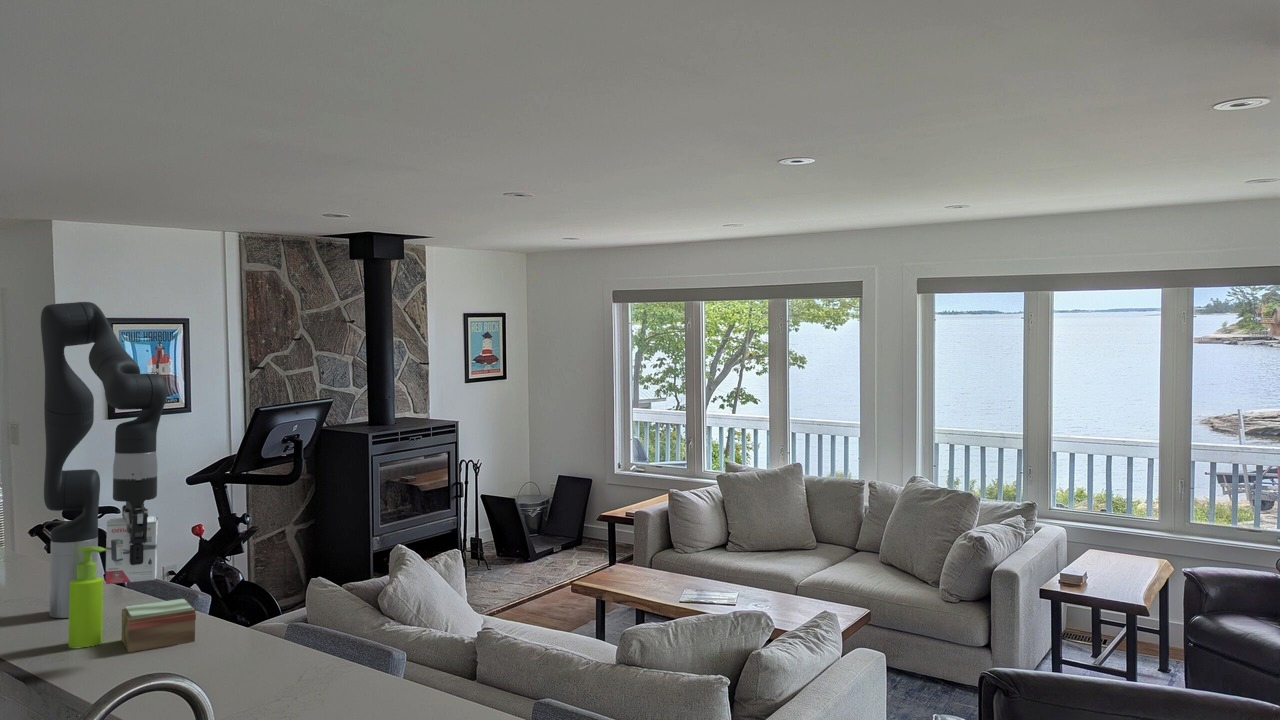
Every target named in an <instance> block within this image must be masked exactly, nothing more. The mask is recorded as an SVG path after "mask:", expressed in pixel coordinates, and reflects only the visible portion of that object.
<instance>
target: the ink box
mask: <svg viewBox="0 0 1280 720" xmlns="http://www.w3.org/2000/svg"><path fill="white" fill-rule="evenodd" d="M158 523H159V521H158V517H157V516H153V515H152V516H151V515H150V516H148V517H147V537H146V538H147V541H146V543H145V544H143V563H142V564H138V565H131V564H130V544H129V534H127V533H126V521H125V520H124V519H123V517H118V518H109V519H108V520H107V521H106V539H105V540H106V543H105V544H106V546H105V549H106V551H105V584H106V585H110V584H111V585H112V584H124V583H134V582H146V581H147V582H148V581H154V580H156V579H157V570H158V567H157V566H158V530H159V529H158V526H159V525H158ZM130 528H131V529H132V524H131V523H130ZM135 537H141V533H135Z"/></svg>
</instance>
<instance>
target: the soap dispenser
mask: <svg viewBox="0 0 1280 720" xmlns="http://www.w3.org/2000/svg"><path fill="white" fill-rule="evenodd" d="M78 551H82V562H80V563H79V564H77V579H75V580H72V581H70V586H69V618H68V644H67V645H69V646H70V647H88V648H90V647H89V646H92V647H94V646H93V645H96V646H98V645H97V644H99V643H101V642H102V643H103V632H104V631H103V627H104V625H103V623H104V622H103V620H104V618H103V617H104V616H103V615H104V578H103V577H99V576H97V577H96V565H97V563H96V562H94V561H92V551H94V552H97V553H98V554H99V553H103V552H106V547H105V548H104V547H102V546H99V545H98V546H87V547H81V548H78ZM102 643H101V644H102ZM99 645H100V644H99ZM69 646H68V647H69ZM70 647H69V648H70Z"/></svg>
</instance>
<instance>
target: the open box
mask: <svg viewBox="0 0 1280 720" xmlns="http://www.w3.org/2000/svg"><path fill="white" fill-rule="evenodd" d="M196 617H197V614H196V609H195V608H194V607H193V606H192V605H191V604H190V603H189V602H188V601H187V599H185V598H177V599H170V600H165V601H155V602H149V603H143V604H133V605H129V606H125V607H124V608H122V609H121V641H122V643H124V644H123V645H124V647H125V648H126V651H127V652H128V653H131V652H133V653H134V652H140V651H144V650H151V649H152V650H153V649H156V648H162V647H168V646H175V645H179V644H180V645H182V644H187V643H191V642H192V643H193V642H195V641H196V620H197V618H196Z"/></svg>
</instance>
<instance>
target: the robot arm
mask: <svg viewBox="0 0 1280 720" xmlns="http://www.w3.org/2000/svg"><path fill="white" fill-rule="evenodd" d="M40 313H41V315H40V333H41V335H40V336H41V342H42V353H43V362H44V363H43V365H44V403H43V404H44V408H43V409H44V411H43V412H44V414H43V415H44V416H43V417H44V431H45V432H44V433H45V467H44V482H43V483H44V484H43V501H44V504H45V507H46V509H48V510H50V511H53V512H54V511H55V512H56V511H57V512H60V511H73V510H74V511H75V510H76V511H77V510H81V511H82V513H81V514H80V515H78V516H77V517H75V518H73V519H72V520H70V521H68V522H66V523H62V524H60V525H59V524H58V525H56V526H55V527H53V528H52V529H51V530H50V531H51V532H50V560H49V561H50V563H49V564H50V568H49V569H50V572H49V613H48V614H49V617H50V618H56V619H66V618H67V619H69V586H70V581H72V580H75V579H77V564H79V563H80V562H82V551H78V548H81V547H87V546H98V547H99V545H98V544H99V505H100V493H101V492H100V491H101V477H100V474H99V472H98V471H97V470H96V469H93V468H91V469H71V470H70V469H69V470H67V469H66V470H63V468H64V465H65V462H66V461H67V459H68V457H69V456H70V454H71V453H72V451H74V449H75V448H76V447H77V446H78V445H79V444H80V442H81V441H82V440H83V439H84V438H85V437H86V436H87V435H88V433H89V432H90V430H91V428H92V427H93V425H94V421H95V420H94V418H95V416H94V411H95V410H94V409H95V408H94V407H95V405H94V404H95V400H94V395H93V393H92V391H91V390H90V388H89V386H88V385H87V384H86V383H85V382H84V381H83V379H81V378H80V377H79V376H78V375H77V374H76V373H75V371H74V370H73V369H72V367H71V366H70V365H69V363H68V361H67V359H66V355H65V348H66V347H72V346H82V345H89V344H92V343H93V345H92V346H91V349H90V350H89V353H88V363H89V366H90V369H91V370H92V372H93V373H94V374H95V375H96V376H97V377H98V379H99V380H100V381H101V382H102V386H103V389H104V395H105V401H106V402H107V405H109V406H110V407H112V408H114V409H117V410H123V411H124V410H125V411H126V410H140V413H139V415H138V416H137V417H136V418H135V419H133V420H130V421H125V422H120V423H118V425H117V426H116V428H115V434H114V436H115V437H114V439H115V440H114V459H113V464H112V465H113V466H112V467H113V468H112V471H113V472H112V474H113V475H112V499H113V500H114V501H116V502H125V504H124V505H122V508H121V518H123V519H124V520H125V521H126V533H127V534H129V544H130V564H131V565H138V564H142V563H143V544H145V543H146V541H147V538H146V537H147V517H149V514H148V513H149V512H148V511H149V509H148V508H146V507H145V501H150V500H153V499H156V498H157V496H158V456H157V435H158V434H157V433H158V427H159V424H160V420H161V416H162V414H163V411H164V407H165V405H166V402H167V397H168V391H169V390H168V385H167V382H166V381H165V379H164V378H163V377H162V376H161V375H160V374H157V373H141V369H140V366H139V364H138V363H137V362H136V361H135V360H134V358H132V356H131V355H130V354H129V353H128V352H127V351H126V350H125V349H124V347H123V346H122V344H120V342H119V340H118V337H117V336H116V334H115V331H114V330H113V328H112V326H111V324H110V322H109V320H108V319H107V318H106V314H104V312H103V311H102V309H101V308H100V307H99V306H98V305H97V304H96V303H94V302H91V301H76V302H62V303H53V304H47V305H45V306H44V307H43V308H42V311H41V312H40ZM130 523H131V524H132V529H131V528H130ZM135 533H141V537H135ZM98 555H99V553H97V552H94V551H92V561H94V562H96V563H97V565H96V577H98V559H99V558H98V557H99V556H98Z"/></svg>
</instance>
